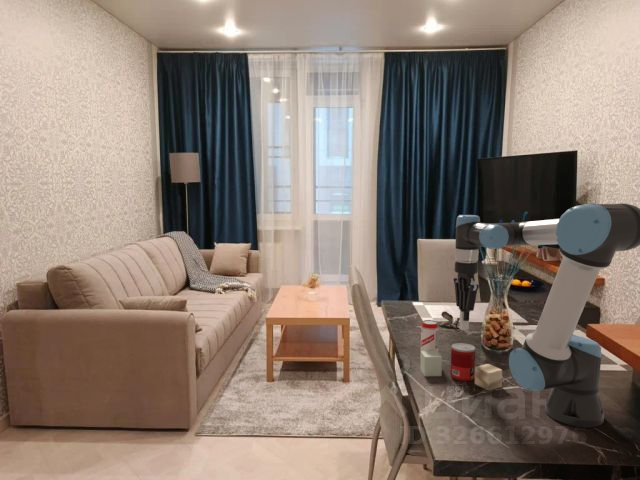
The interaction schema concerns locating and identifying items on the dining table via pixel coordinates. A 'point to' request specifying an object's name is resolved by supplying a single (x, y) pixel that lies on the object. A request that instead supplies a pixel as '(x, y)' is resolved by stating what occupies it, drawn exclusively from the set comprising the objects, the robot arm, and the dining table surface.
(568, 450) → the dining table surface
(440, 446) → the dining table surface
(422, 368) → the sage block
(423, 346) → the beer can
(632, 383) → the dining table surface
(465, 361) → the canned food
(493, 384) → the birch block
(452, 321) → the snake figurine
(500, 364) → the dining table surface
